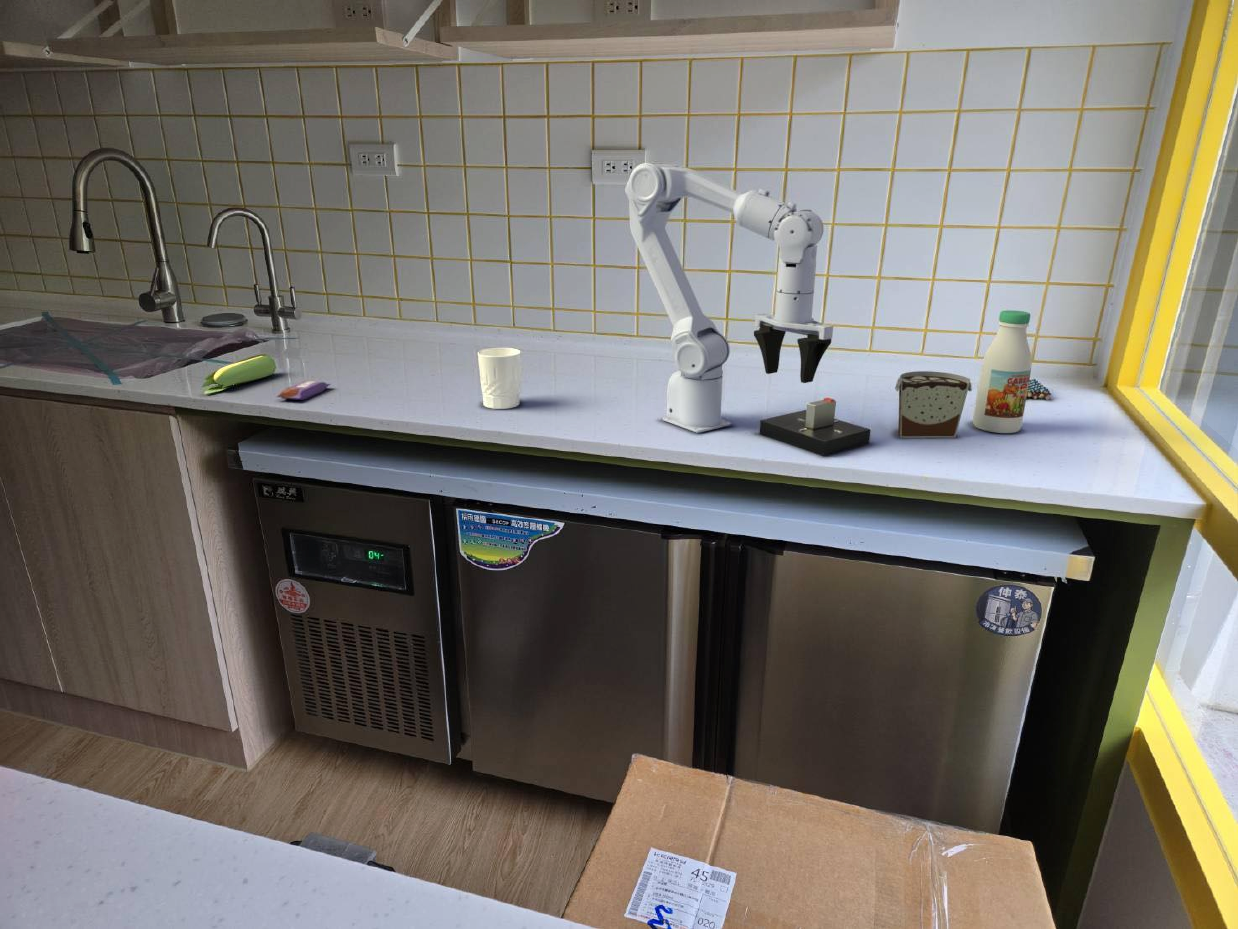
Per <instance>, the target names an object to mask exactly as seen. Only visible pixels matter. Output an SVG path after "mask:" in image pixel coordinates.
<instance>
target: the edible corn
mask: <svg viewBox="0 0 1238 929" xmlns="http://www.w3.org/2000/svg"><path fill="white" fill-rule="evenodd" d="M276 369H277V365H276V361H275V359H274V358H273V357H272V356H271V355H270V354H267V353H262V354H261V353H260V354H256V355H253V356H249V357H247V358H243V359H241V360H239V361H236V362H234V363H232V364H229V365H225V366H224V367H221V368H219V369H218V370H216V371H214V372H211V373H210V374H207V376H205V377H204V378H203V380H205V381H204V382H203V384H202V386H201V388H202V387H205V386H209V385H211V384H218V385H215V386H212V387H209V388H207V390H205V391H204V393H203V394H204V395H206V394H213V393H217V392H220V391H223V390H226V389H230V388H232V387H235V386H238V385H242V384H245V383H249V382H254V381H257V380H262V379H265V378H267V377H270V376H273V375H274V374H275V373H276ZM233 384H234V385H233Z"/></svg>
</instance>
